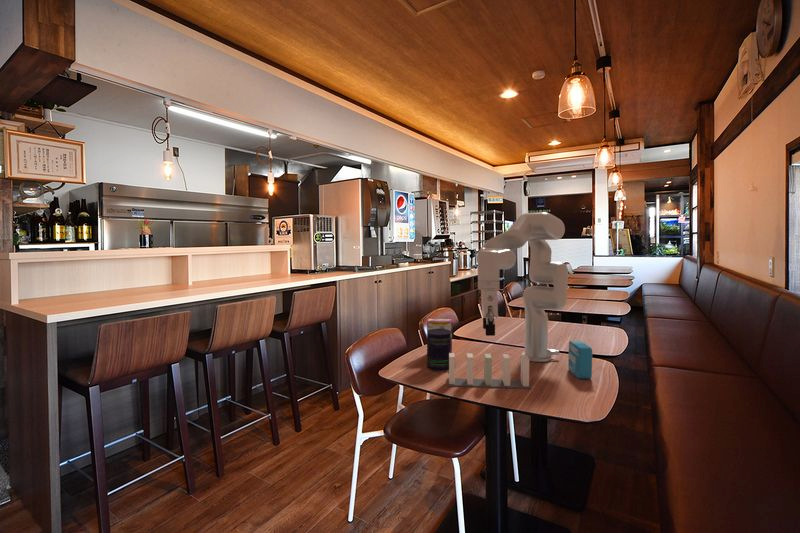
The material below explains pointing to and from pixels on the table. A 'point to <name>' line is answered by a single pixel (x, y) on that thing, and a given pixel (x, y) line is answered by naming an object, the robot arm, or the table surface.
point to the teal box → (580, 359)
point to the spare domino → (487, 369)
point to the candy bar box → (440, 326)
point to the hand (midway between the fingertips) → (488, 331)
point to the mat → (494, 384)
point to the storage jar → (438, 349)
